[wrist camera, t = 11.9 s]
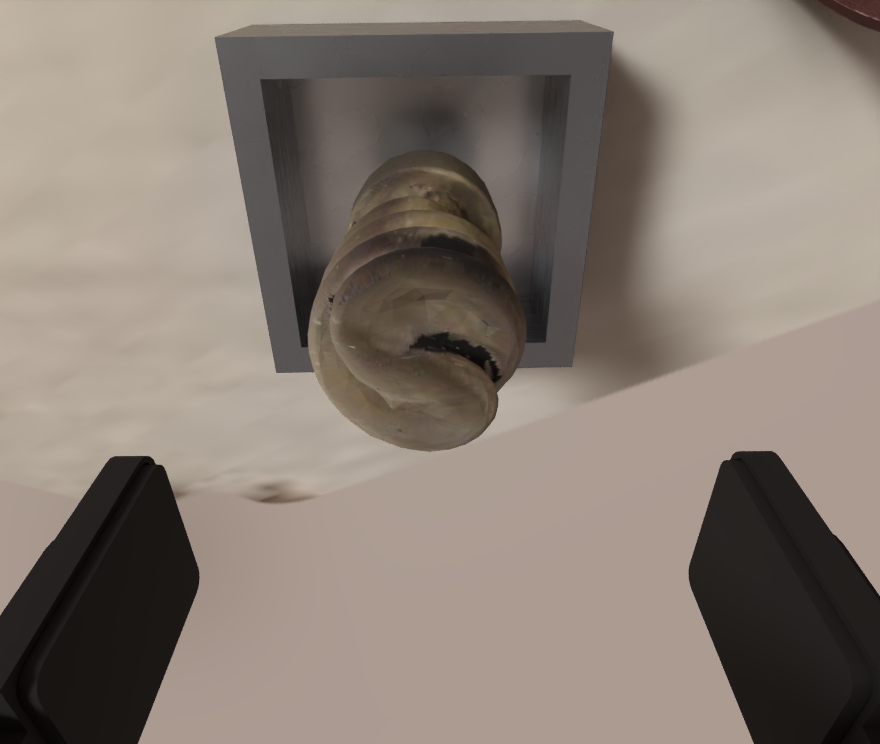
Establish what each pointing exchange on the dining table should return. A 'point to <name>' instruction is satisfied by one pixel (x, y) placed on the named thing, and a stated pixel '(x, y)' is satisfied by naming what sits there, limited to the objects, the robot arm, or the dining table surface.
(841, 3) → the dark brown lumpy piece
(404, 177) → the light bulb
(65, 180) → the dining table surface
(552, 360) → the frame
